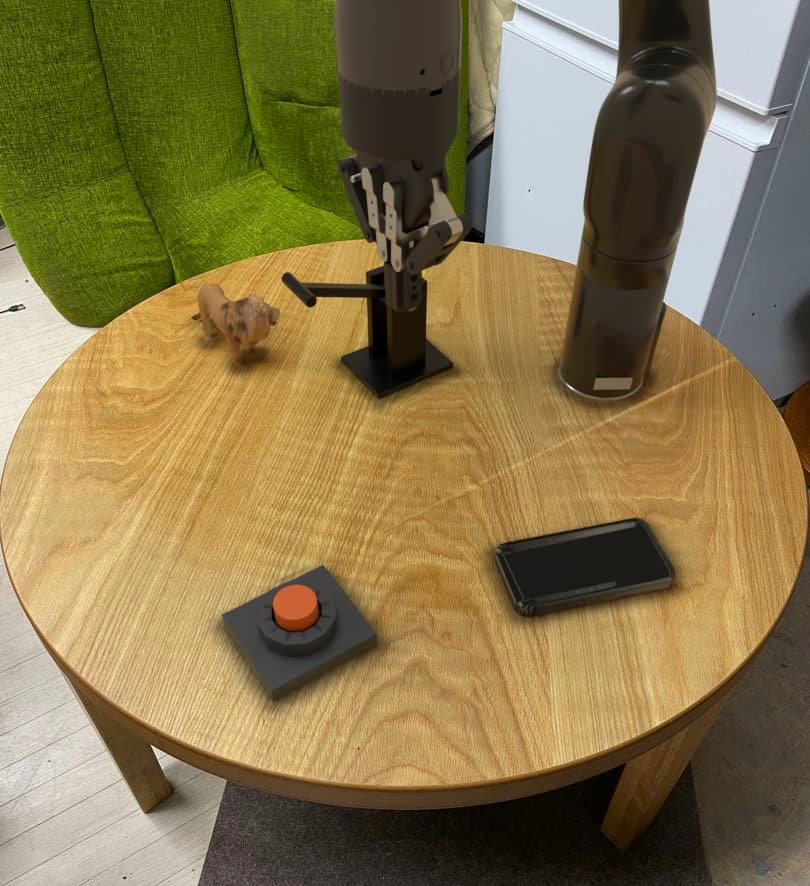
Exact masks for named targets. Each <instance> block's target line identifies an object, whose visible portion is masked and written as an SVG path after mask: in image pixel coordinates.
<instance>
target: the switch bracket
mask: <svg viewBox="0 0 810 886" xmlns="http://www.w3.org/2000/svg"><path fill="white" fill-rule="evenodd" d="M383 276H384V264H383V265H381V266H378V267H375V268H373V269H370V270H367V271H365V284H379V285H381V283H382V280H383ZM421 287H422V291H421V292H422V299H421V302H420V303H419V304H418V306H416V307H414V308H412V309H410V310H407V311H405V312H403V313H399V312H397V311H396V310H395V309H393V308H392V307H391V306H390V305H388V304H387V305H386V304H385V303H384V302H382V301H381V300H380V299H379V298H366V316H367V317H366V318H367V343H368V345H367V346H364V347H361V348H359V349H357V350H354V351H352V352H349V353H347V354H344V355H341V356H340V362H341V363H342V364H343V365H344V366H345V367H346V368H347V369H348V370H349V371H350V372H351V374H353V375H354V376H355V377H356V378H357V379H358V380H359V381H360V382H361V383H362V384H363V385H364V386H365V387H366V389H368V391H369V392H370V393H372V394H373V395H374V397H376V398H377V400H381V399H383V398H385V397H388V396H391V395H393V394H395V393H397V392H400V391H401V390H404V389H407V388H410V387H411V386H414V385H416V384H419V383H420V382H424V381H425V380H428V379H430V378H433V377H435V376H437V375H439V374H442V373H444V372H447V371H448V370H452V369H453V368H454V362H453V361H452V360H451V359H450V358H448V356H446V355H445V353H443V352H442V351H441V350H440V349H438V348H437V347H436V346H435V345H434V344H433V343H432V342H430V341H429V340H428V339H427V317H428V315H427V314H428V313H427V312H428V280H427V279H426V278H424V277H423V276H422V286H421Z"/></svg>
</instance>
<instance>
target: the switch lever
mask: <svg viewBox="0 0 810 886" xmlns="http://www.w3.org/2000/svg"><path fill="white" fill-rule="evenodd" d="M280 278H281V282H282V284H283V285H285V287H286V288H287V289H289V290H290V291H291V292H292V293H293V294H294V295H295V296H296V297H297V298H298V299H299V300H300V302H302V303H303V305H305V307H307V308H309V309H311V308H314V307H315V306H316V305H317V304H318V303H317V302H318V299H317V298H342V299H343V298H347V299H348V298H349V299H350V298H351V299H352V298H353V299H356V298H357V299H367V298H379V299H380V300H381V301H382V302H384V303H385V304H386V305H387V303H386V291H385V285H384V281H385V280H384V276H383V280H382V283H381V285H379V284H366V283H341V282H339V283H335V282H301V281H299V279H298V278H297V277H295V275H294V274H292V273H291V272H290V271H289V272H288V271H286V272H284V273H282V275H281V277H280Z"/></svg>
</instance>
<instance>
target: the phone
mask: <svg viewBox="0 0 810 886" xmlns="http://www.w3.org/2000/svg"><path fill="white" fill-rule="evenodd" d="M494 562H495V564H496V567H497V570H498V571H499V575H500V577H501V579H502V582H503V583H504V586H505V589H506V591H507V594H508V596H509V599H510V601H511V604H512V606H513V609H514V610H515V611H516V613H518V615H521V616H523V617H527V618H528V617H534V616H539V615H544V614H550V613H554V612H559V611H564V610H568V609H573V608H578V607H584V606H588V605H592V604H597V603H603V602H607V601H612V600H616V599H617V600H618V599H622V598H626V597H631V596H637V595H641V594H646V593H651V592H655V591H661V590H666V589H668V588H670V587H671V586H672V585H673V583H674V581H675V577H676V573H677V572H676V569H675V567H674V565H673V564H672V562H671V560H670V558H669V556H668V555H667V553H666V551H665V550H664V548H663V547H662V545H661V543H660V541H659V540H658V537H657V536H656V534H655V532H654V531H653V529H652V528H651V525H650V524H649V523H648V521H646V520H645V519H643V518H640V517H631V518H625V519H620V520H615V521H610V522H604V523H599V524H595V525H588V526H584V527H578V528H574V529H569V530H563V531H558V532H552V533H548V534H541V535H537V536H536V535H535V536H532V537H531V536H530V537H527V538H522V539H515V540H511V541H505V542H502V543H500V544H499V545H498V546H497V547H496V549H495V554H494Z"/></svg>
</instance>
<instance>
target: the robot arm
mask: <svg viewBox="0 0 810 886" xmlns="http://www.w3.org/2000/svg"><path fill="white" fill-rule="evenodd" d="M711 20H712V19H711V6H710V0H618V49H617V64H616V65H617V66H616V76H615V80H614V83H613V84H612V86H611V88H610V90H609V92H608V93H607V95H606V96H605V98H604V100H603V102H602V103H601V106H600V109H599V111H598V114H597V118H596V121H595V126H594V128H593V136H592V140H591V141H592V142H591V147H590V153H589V160H588V162H589V163H588V166H587V172H586V173H587V174H586V182H585V189H584V195H583V201H582V203H583V204H582V211H583V217H584V218H583V226H582V232H581V237H580V244H579V249H578V256H577V262H576V267H575V272H574V273H575V274H574V278H573V279H574V280H573V286H572V291H571V297H570V303H569V309H568V313H567V321H566V326H565V331H564V338H563V343H562V344H563V345H562V348H561V354H560V360H559V362H558V367H557V375H558V378H559V380H560V382H561V384H562V385H563V386H564V387H565V388H566V389H567V390H569V392H571V393H573V394H574V395H577V396H579V397H581V398H584V399H587V400H589V401H596V402H617V401H618V402H619V401H622V400H626V399H627V398H630V397H632V396H634V395H635V394H637V392H638V391H639V390H640V389H641V387H642V385H643V382H644V378H645V377H647V376H649V374H650V371H651V367H652V364H653V360H654V356H655V353H656V349H657V345H658V342H659V339H660V338H659V337H660V334H661V331H662V327H663V323H664V319H665V317H666V316H665V315H666V313H667V304H666V302H665V301H664V299H665V296H666V292H667V287H668V285H669V281H670V276H671V272H672V268H673V265H674V261H675V257H676V254H677V250H678V245H679V242H680V239H681V235H682V231H683V228H684V223H685V214H686V211H687V206H688V203H689V200H690V199H689V198H690V196H691V195H690V194H691V192H692V188H693V184H694V180H695V177H696V172H697V168H698V164H699V160H700V158H701V153H702V150H703V146H704V142H705V139H706V136H707V134H708V131H709V129H710V126H711V123H712V121H713V118H714V115H715V111H716V106H717V96H718V89H717V88H718V87H717V75H716V67H715V55H714V46H713V36H712V35H713V33H712V21H711ZM462 35H463V13H462V1H461V0H335V1H334V36H335V52H336V67H337V81H338V93H339V107H340V109H339V111H340V123H341V124H340V125H341V134H342V137H343V140H344V141H345V142H344V143H346V145H347V146H348V147H349V148H350V149H351V150H353V151H354V152H355V153H354V154H353V155H351V156H347V157H345V158H342V159H339V160H337V163H336V164H337V167H336V168H337V171H338V174H339V176H340V178H341V182H342V183H343V187H344V188H345V191H346V194H347V197H348V199H349V202H350V205H351V206H352V210H353V212H354V215H355V216H356V219H357V222H358V224H359V227H360V231H361V232H362V235H363V236H364V239H365V241H366V242H367V243H369V244H372V243H375V245H376V250H377V255H378V258H379V259H380V260H381V261H382V262H383V265H384V280H385V281H384V285H385V291H386V303H387V304H388V305H390V306H391V307H392V308H393V309H395V310H396V311H397V312H399V313H403V312H405V311H407V310H410V309H412V308H414V307H416V306H418V304H419V303H420V302H421V299H422V292H421V291H422V287H421V286H422V277H423V271H424V270H427V269H430V268H432V267H435V266H439V265H441V264H443V262H444V261H445V260H446V259H447V258H448V257H449V256H450V254H451V253H452V252H453V251H454V250H456V248H457V246H459V245H460V243H461V242H462V241H463V240H464V239H465V238H466V236H468V234H469V233H470V232H471V230H472V228H473V223H472V219H471V217H470V216H469V214H468V213H466V212H461V213H460V214H456V211H455V210H454V207H453V206H452V204H451V202H450V200H449V199H448V197H447V195H448V194H449V191H450V178H449V175H448V171H447V164H446V157H447V154H448V152H449V151H450V149H451V147H452V145H453V144H454V143H455V141H456V139H457V138H458V135H459V129H460V102H461V101H460V100H461V71H462V70H461V69H462V62H461V61H462V38H463V37H462Z"/></svg>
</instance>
